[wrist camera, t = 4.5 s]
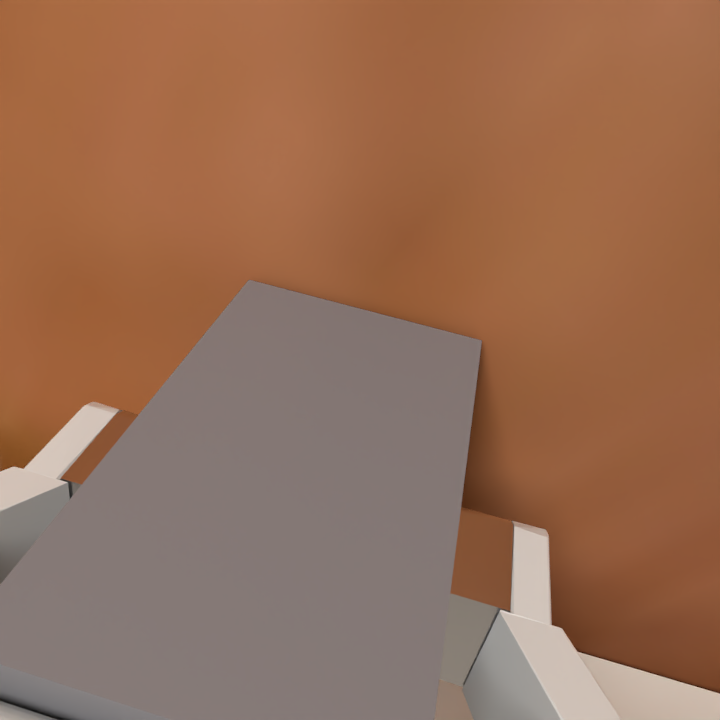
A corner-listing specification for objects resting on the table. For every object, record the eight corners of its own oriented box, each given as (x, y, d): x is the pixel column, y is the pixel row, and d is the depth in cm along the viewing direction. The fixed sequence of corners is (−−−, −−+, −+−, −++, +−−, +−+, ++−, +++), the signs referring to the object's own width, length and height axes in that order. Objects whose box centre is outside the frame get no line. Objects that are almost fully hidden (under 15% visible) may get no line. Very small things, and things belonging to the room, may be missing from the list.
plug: (482, 340, 11) (423, 801, 5) (427, 508, 13) (343, 959, 7) (249, 280, 11) (-52, 647, 5) (234, 453, 13) (10, 843, 8)
